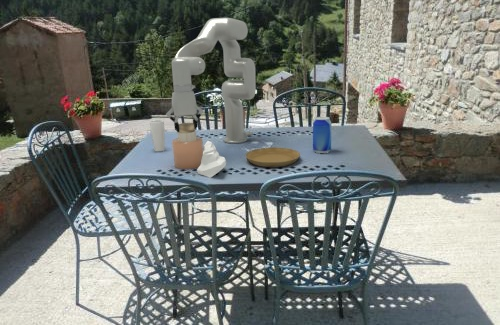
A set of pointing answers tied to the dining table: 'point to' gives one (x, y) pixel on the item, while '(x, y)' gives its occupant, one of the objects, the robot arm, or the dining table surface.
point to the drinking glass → (158, 134)
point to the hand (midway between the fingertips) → (186, 130)
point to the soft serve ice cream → (211, 161)
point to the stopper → (186, 127)
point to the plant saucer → (272, 156)
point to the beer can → (322, 135)
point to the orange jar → (187, 150)
